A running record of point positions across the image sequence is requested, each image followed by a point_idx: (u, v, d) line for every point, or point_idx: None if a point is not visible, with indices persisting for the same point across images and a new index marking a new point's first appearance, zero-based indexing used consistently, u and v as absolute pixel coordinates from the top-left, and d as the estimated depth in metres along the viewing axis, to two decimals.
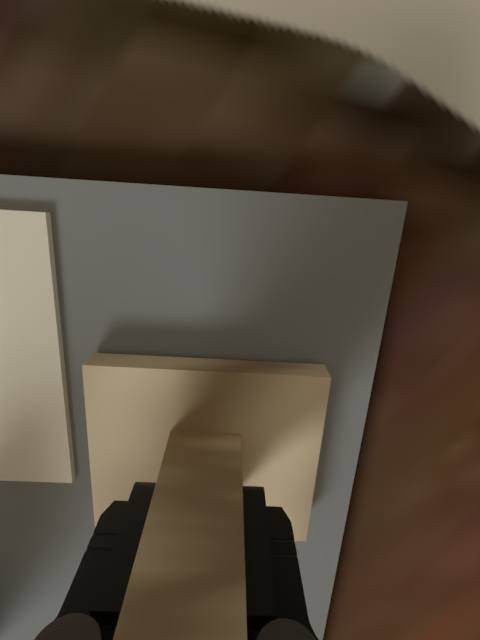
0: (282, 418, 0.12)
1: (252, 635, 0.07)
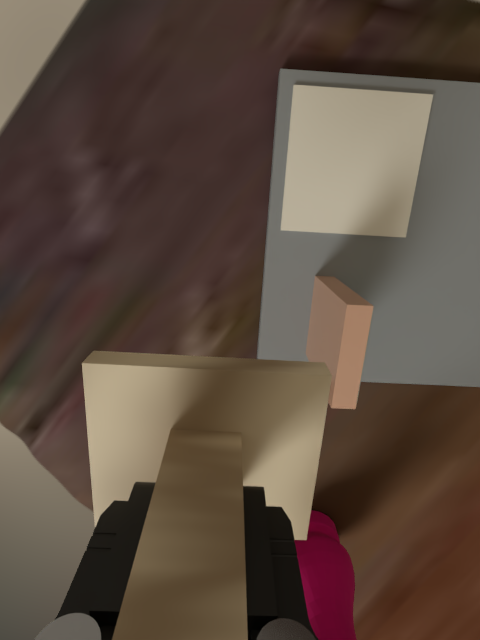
0: (282, 416, 0.12)
1: (252, 635, 0.07)
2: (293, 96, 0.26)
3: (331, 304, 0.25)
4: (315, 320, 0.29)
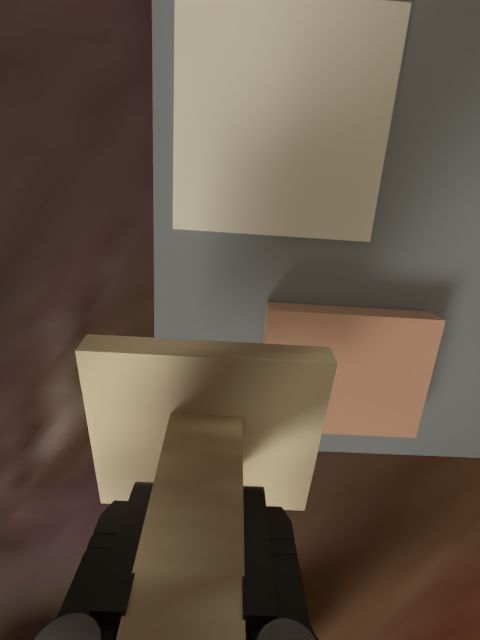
0: (284, 402, 0.12)
1: (252, 635, 0.07)
2: (176, 2, 0.15)
3: (382, 332, 0.19)
4: None
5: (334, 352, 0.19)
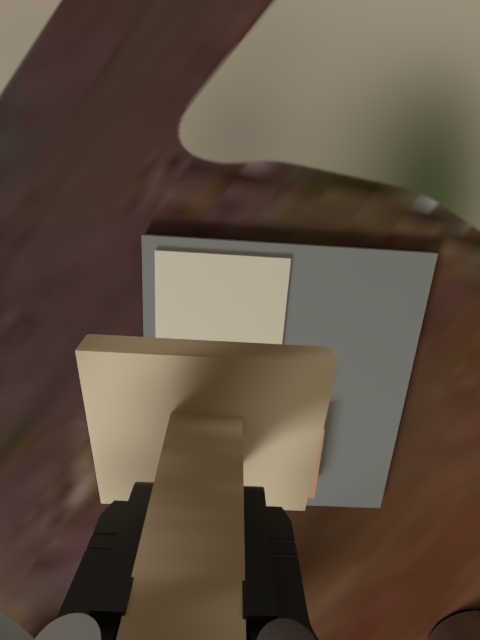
0: (285, 402, 0.12)
1: (252, 635, 0.07)
2: (155, 260, 0.27)
3: None
4: None
5: None
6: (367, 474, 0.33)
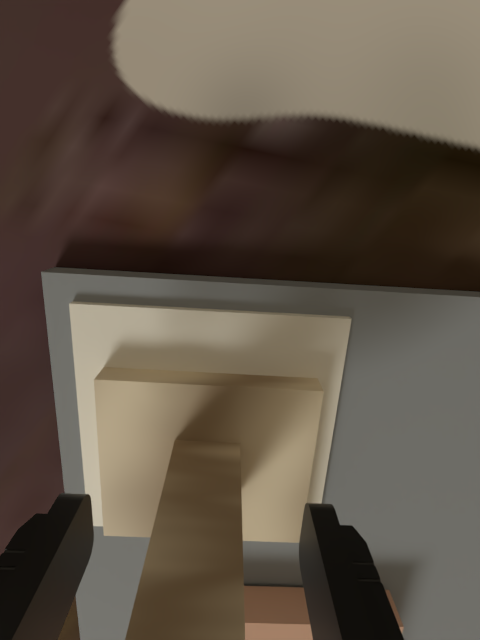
0: (278, 428, 0.13)
1: None
2: (72, 322, 0.13)
3: None
4: None
5: None
6: None
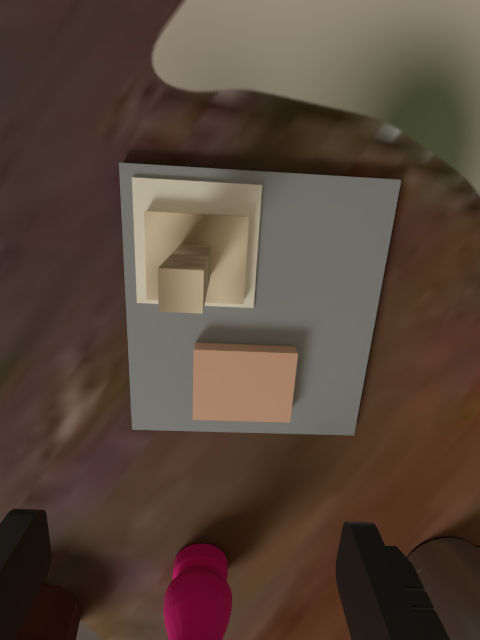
0: (229, 237, 0.28)
1: None
2: (133, 187, 0.28)
3: (261, 361, 0.32)
4: (215, 384, 0.32)
5: (234, 372, 0.32)
6: (341, 401, 0.35)
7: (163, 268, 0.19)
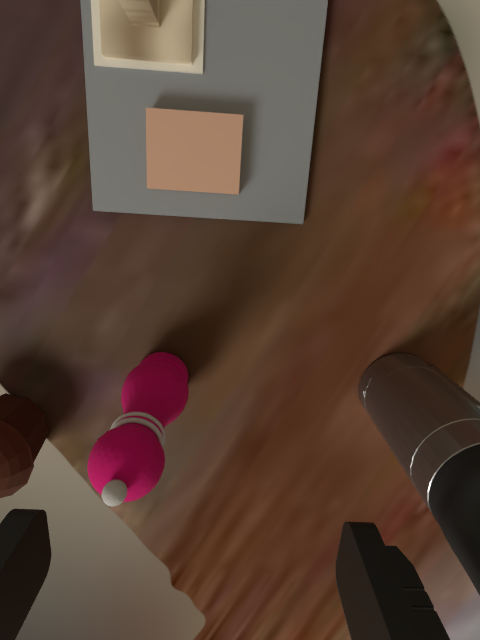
0: None
1: None
2: None
3: (209, 122, 0.34)
4: (167, 148, 0.34)
5: (184, 135, 0.34)
6: (289, 184, 0.37)
7: None
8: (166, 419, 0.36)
